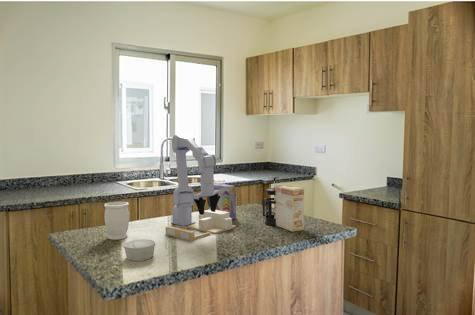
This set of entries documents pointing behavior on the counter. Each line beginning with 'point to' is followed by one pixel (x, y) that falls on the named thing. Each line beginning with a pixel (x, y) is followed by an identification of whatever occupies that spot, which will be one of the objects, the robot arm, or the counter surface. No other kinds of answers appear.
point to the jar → (116, 219)
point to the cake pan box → (225, 199)
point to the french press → (269, 206)
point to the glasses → (183, 233)
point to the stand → (213, 222)
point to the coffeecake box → (289, 207)
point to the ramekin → (139, 249)
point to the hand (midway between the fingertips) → (207, 212)
